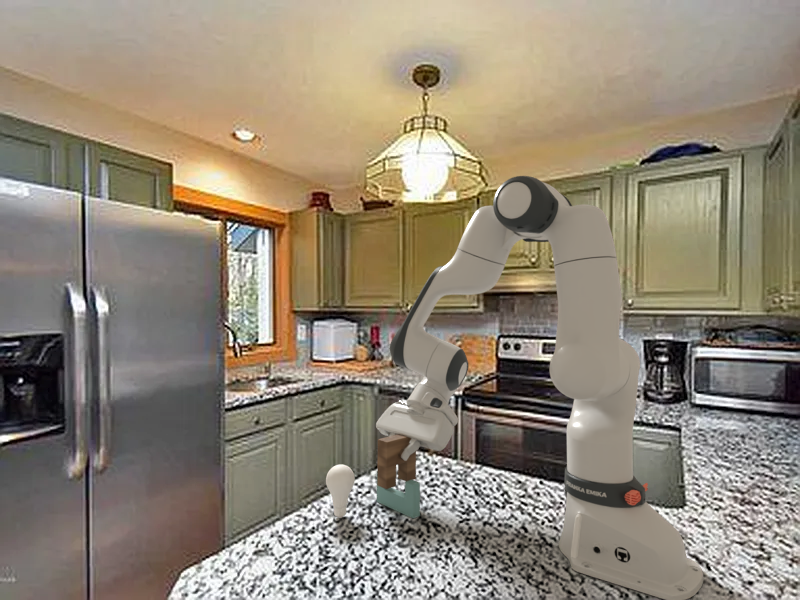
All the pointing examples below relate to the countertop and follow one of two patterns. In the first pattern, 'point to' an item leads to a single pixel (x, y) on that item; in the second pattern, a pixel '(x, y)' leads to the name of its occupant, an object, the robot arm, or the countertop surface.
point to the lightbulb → (340, 487)
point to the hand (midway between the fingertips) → (395, 456)
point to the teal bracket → (402, 498)
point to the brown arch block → (394, 461)
